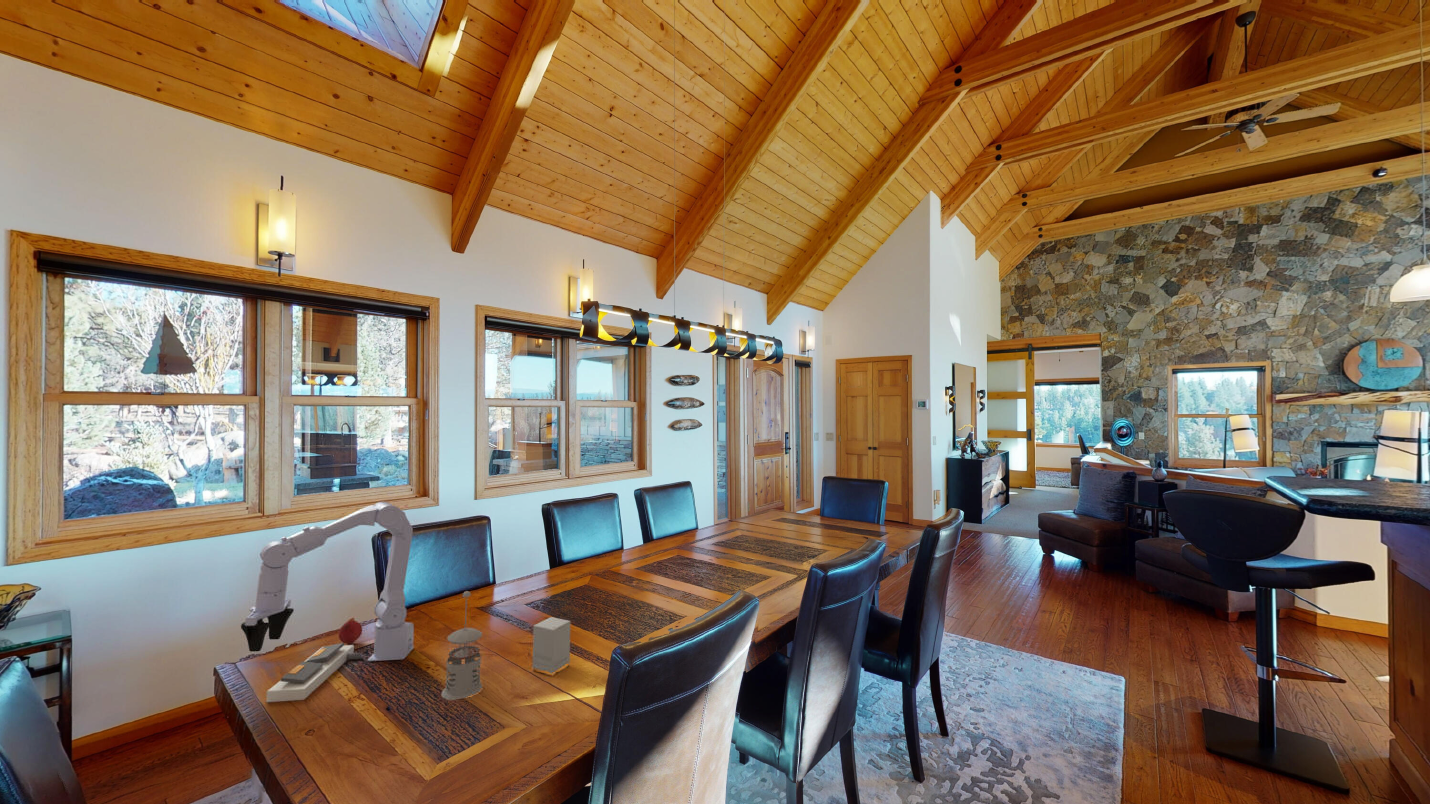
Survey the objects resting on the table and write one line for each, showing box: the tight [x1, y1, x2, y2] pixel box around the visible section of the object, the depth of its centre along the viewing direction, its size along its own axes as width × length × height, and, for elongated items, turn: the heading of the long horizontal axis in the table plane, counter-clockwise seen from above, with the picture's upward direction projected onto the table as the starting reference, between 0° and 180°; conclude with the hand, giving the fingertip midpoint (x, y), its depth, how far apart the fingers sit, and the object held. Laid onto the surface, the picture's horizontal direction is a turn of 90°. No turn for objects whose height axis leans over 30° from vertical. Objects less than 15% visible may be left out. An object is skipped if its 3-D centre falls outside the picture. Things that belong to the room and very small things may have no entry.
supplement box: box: [532, 616, 571, 673], centre depth 146 cm, size 7×7×13 cm
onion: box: [338, 617, 363, 645], centre depth 158 cm, size 6×6×8 cm
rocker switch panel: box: [265, 644, 363, 703], centre depth 139 cm, size 12×25×3 cm, turn 11°
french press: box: [440, 590, 483, 701], centre depth 135 cm, size 10×12×25 cm
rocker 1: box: [280, 660, 323, 683], centre depth 133 cm, size 5×9×1 cm, turn 11°
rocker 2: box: [305, 642, 345, 662], centre depth 144 cm, size 5×9×1 cm, turn 12°
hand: (265, 644), depth 133 cm, fingers open, 7 cm apart
